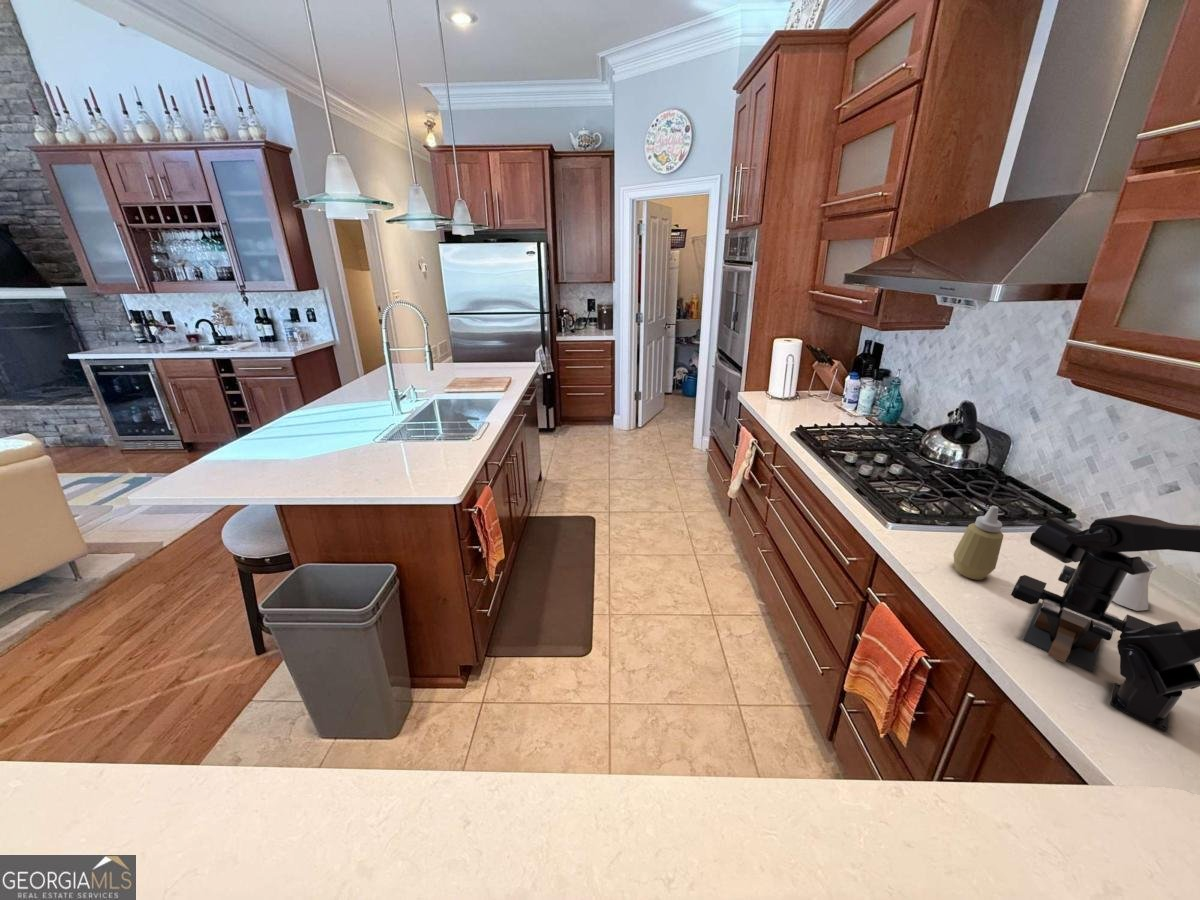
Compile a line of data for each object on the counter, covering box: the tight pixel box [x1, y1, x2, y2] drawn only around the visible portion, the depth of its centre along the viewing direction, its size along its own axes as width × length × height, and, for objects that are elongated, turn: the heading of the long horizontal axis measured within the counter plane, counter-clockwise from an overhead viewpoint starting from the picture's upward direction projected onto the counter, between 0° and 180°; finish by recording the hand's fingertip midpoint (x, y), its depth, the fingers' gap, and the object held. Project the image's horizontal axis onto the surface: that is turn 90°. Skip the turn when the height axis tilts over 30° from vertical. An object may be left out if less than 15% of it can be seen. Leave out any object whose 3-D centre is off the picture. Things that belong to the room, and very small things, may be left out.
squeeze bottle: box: [953, 505, 1004, 581], centre depth 108 cm, size 8×8×18 cm
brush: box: [1034, 609, 1103, 664], centre depth 91 cm, size 13×9×4 cm
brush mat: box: [1022, 602, 1101, 673], centre depth 94 cm, size 16×10×1 cm, turn 130°
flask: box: [1111, 558, 1158, 612], centre depth 101 cm, size 7×7×10 cm
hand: (1061, 644), depth 90 cm, fingers closed on brush, 2 cm apart
